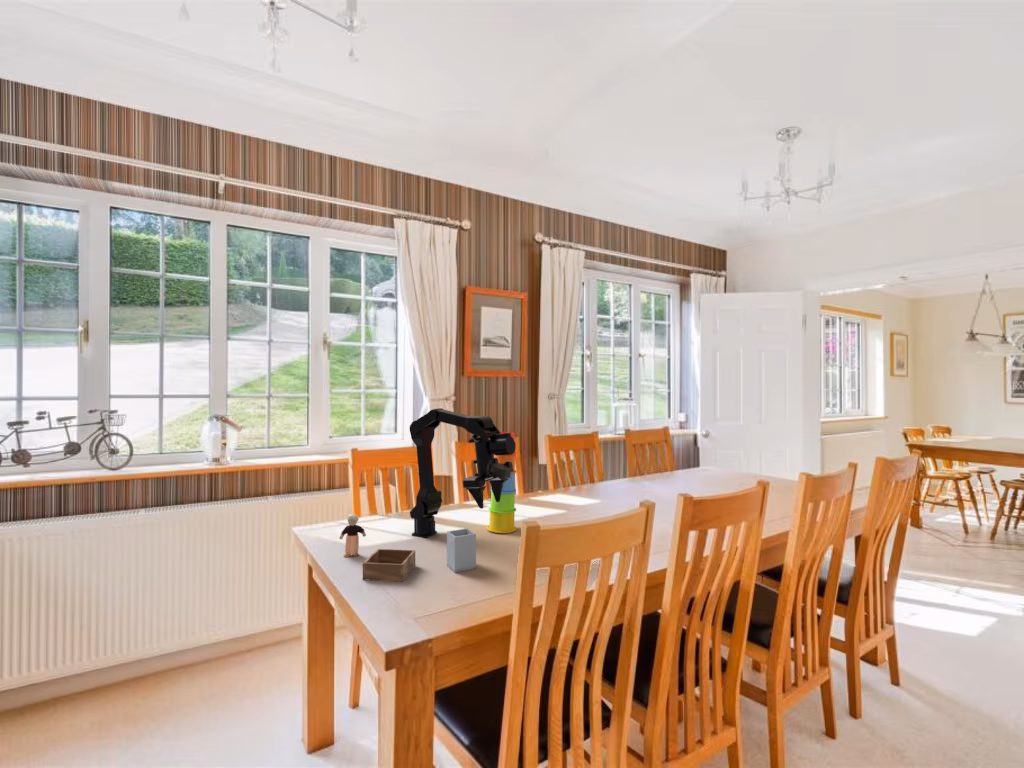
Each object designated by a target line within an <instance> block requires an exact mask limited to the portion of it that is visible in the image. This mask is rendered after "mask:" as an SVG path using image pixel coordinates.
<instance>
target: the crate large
mask: <svg viewBox="0 0 1024 768" xmlns="http://www.w3.org/2000/svg"><path fill="white" fill-rule="evenodd" d="M415 567H416V549H415V550H414V549H393V548H377V549H376V550H375V551H374V552H373V553H371V555H370V556H369V557H368V558H366V559H365V560H364V561H363V562H362V580H363V579H370V580H369V581H380V580H388V581H387V582H400V581H403V580H404V579H406V578H407V577H408V576H409V575H410V574H411V572H412V571H413V570H412V569H414V568H415ZM408 574H409V575H408ZM407 575H408V576H407ZM389 580H390V581H389ZM404 581H405V580H404ZM404 581H403V582H404Z"/></svg>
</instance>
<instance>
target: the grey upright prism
mask: <svg viewBox="0 0 1024 768" xmlns="http://www.w3.org/2000/svg"><path fill="white" fill-rule="evenodd" d="M446 566H447V567H448V568H449V569H450V570H451V571H452V572H453V573H455V574H456V573H461V571H462V572H465V570H467V571H470V570H471V569H472V570H476V569H477V534H476V533H475V532H474V531H473V530H471V529H469V528H467V527H466V528H461V529H459V528H458V529H454V530H447V531H446Z"/></svg>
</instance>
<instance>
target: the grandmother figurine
mask: <svg viewBox="0 0 1024 768" xmlns="http://www.w3.org/2000/svg"><path fill="white" fill-rule="evenodd" d="M346 520H347V523H348V525H347V526H345V527H344V529H342V531H341V534H340V535H339V537H338V538H339V540H343V539H344V537H345V535H346V537H345V544H344V545H345V546H344V548H345V550H344V552H345V553H344V554H343V558H349V557H350V556H352V557H358V556H360V553H359V543H360V542H359V534H358V533H360V534H361V535H362V537H364V538H365V537H366V536H367V533H366V532H365V529H364V528H363V527H362V526H360V525H358V524H357V523H358V521H359V520H360V519H359V517H358V515H356V514H355V513H351V514H348V515H347V519H346ZM357 555H358V556H357Z"/></svg>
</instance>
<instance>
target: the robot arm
mask: <svg viewBox="0 0 1024 768" xmlns="http://www.w3.org/2000/svg"><path fill="white" fill-rule="evenodd" d="M441 423H444V424H447V425H452V426H455V427H458V428H463V429H464V430H465V431H466V432H467V433H470V434H471V435H472V436H471V438H470V439H469V440H468V443H469V444H473V443H474V451H475V453H474V454H475V460H473V464H474V465H475V464H476V471H477V472H475V473H474V476H473V475H472V476H467V477H465V478H464V479H463V480H462V481H461V482H462V488H464V489H465V490H466V491H468V492H469V493H470V495H471V497H472V498H473V500H474V502H476V504H477V506H478V508H479V509H482V510H483V509H484V504H485V503H484V491H485V490H486V488H487V486H486V485H485V484H486V482H488V481H489V484H490V487H491V488H492V491H493V494H494V497H495V500H496V502H500V497H501V492H502V488H503V484H504V483H505V482H506V481H507V480H508V479H506V478H510V474H511V472H513V471H514V470H513V465H512V462H509V461H507V462H505V463H504V464H503V463H502V464H500V463H498V459H497V458H494V455H512V454H513V453H514V452H516V446H517V445H516V441H515V442H514V439H513V438H512V437H511V434H510V433H511V432H510V433H503V434H501V433H500V432H501V431H500V430H499V429H498V427H497V426H496V425H495V424H494V421H493V419H492V417H490V416H488V415H467V414H462V413H458V412H455V411H451V410H447V409H444V408H443V407H442V408H440V407H439V408H432V409H430V410H429V411H428V412H427V413H426V414H424V415H421V416H420V417H419V418H418V419H415V420H413V421H412V422H411V424H409V432H410V437H411V440H412V442H413V444H414V445H415V447H416V456H417V468H418V469H417V470H418V480H419V490H418V493H417V494H416V498H415V499H416V500H415V502H416V503H415V505H414V507H413V508H412V509H411V510H409V516H410V519H412V520H413V521H414V522H413V523H414V525H413V526H414V527H413V528H414V529H413V530H414V531H413V532H412V533H411V536H415V537H420V538H429V537H430V536H433V535H435V534H437V532H438V531H437V530H436V520H435V516H436V515H438V514H439V513H438V512H439V510H440V509H441V506H442V503H443V499H442V490H438V489H437V487H436V486H435V480H434V479H435V477H434V467H433V466H434V465H433V453H432V443H433V441H434V438H435V431H436V429H437V428H438V427H439V426H440V425H441ZM491 488H490V489H491Z"/></svg>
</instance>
